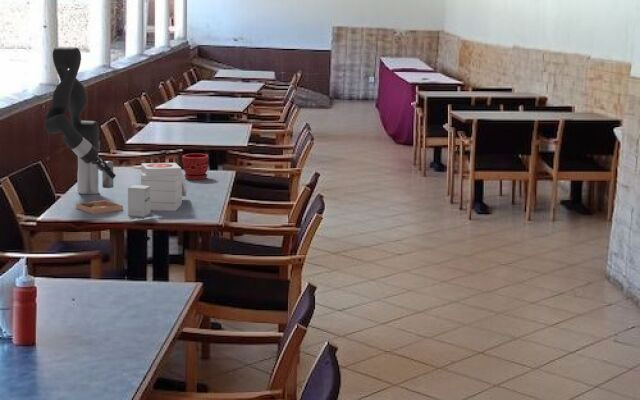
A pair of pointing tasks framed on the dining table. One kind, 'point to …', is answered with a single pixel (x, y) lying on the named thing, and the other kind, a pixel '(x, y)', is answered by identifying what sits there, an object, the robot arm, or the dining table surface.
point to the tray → (105, 207)
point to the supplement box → (139, 200)
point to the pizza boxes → (164, 185)
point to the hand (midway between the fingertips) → (111, 176)
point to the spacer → (107, 176)
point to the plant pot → (195, 166)
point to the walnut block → (88, 204)
